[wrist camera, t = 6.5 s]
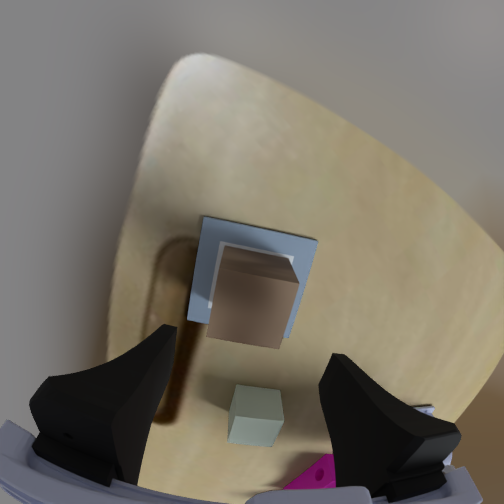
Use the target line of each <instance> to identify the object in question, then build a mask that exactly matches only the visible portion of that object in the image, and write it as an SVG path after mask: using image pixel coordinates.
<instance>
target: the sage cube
mask: <svg viewBox="0 0 504 504" xmlns="http://www.w3.org/2000/svg"><path fill="white" fill-rule="evenodd" d="M283 423H284V414H283V407H282V400H281V393H280V390H277V389H268V388H260V387H252V386H245V385H238V384H236V388H235V392H234V395H233V399H232V403H231V406H230V410H229V420H228V439H227V442H228V443H236V444H244V445H254V446H266V447H272V446H273V444H274V442H275V440H276V437H277V435H278V433H279V431H280V429H281V427H282V425H283Z"/></svg>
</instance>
